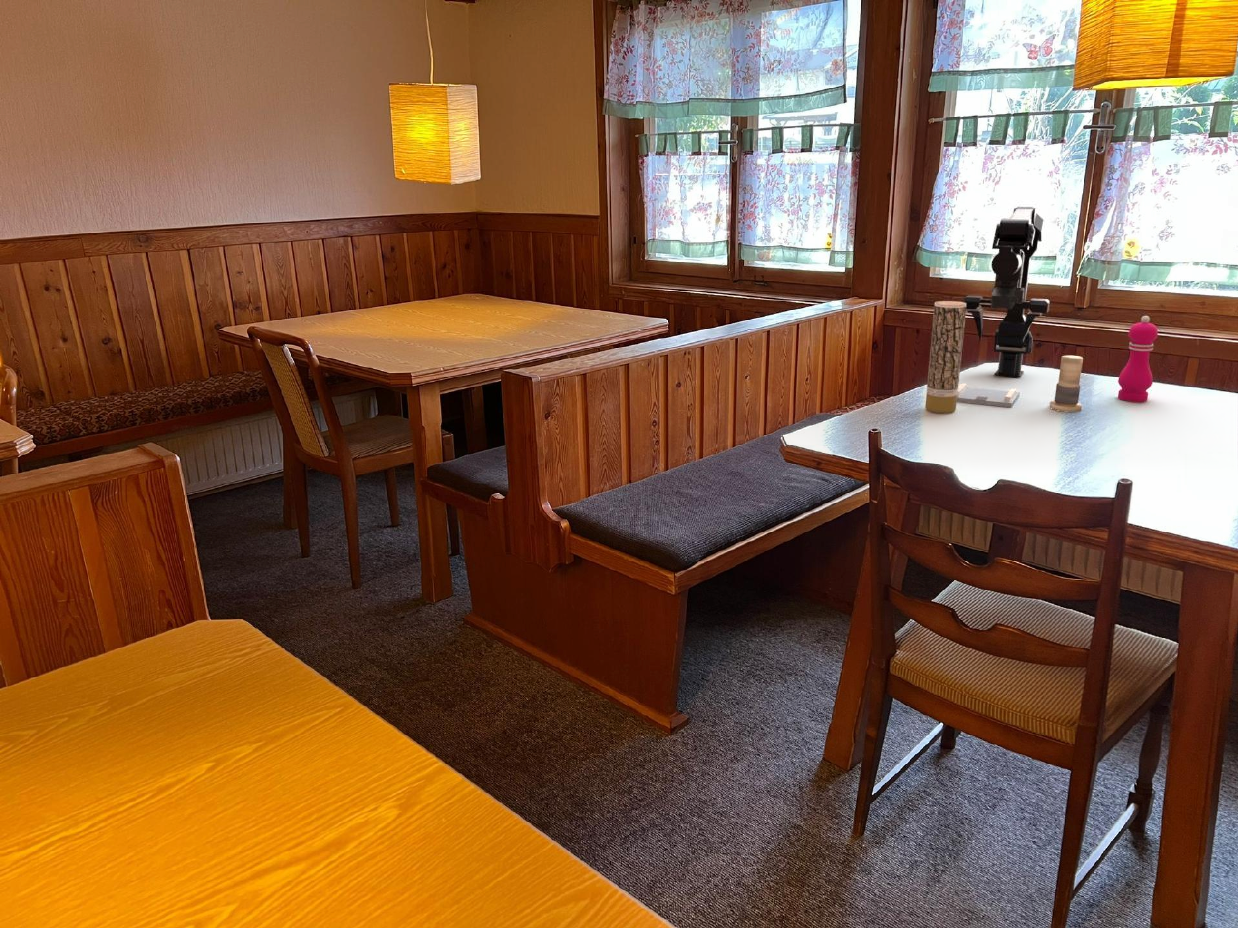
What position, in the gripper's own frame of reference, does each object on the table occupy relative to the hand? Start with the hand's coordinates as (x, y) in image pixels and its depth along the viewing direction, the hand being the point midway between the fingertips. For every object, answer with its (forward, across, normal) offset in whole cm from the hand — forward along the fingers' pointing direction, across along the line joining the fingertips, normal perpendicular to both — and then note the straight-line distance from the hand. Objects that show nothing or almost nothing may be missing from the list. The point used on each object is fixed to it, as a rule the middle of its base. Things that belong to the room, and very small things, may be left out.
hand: (1000, 340), depth 217 cm
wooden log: (+15, -10, -16) cm, 24 cm away
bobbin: (+14, +16, -2) cm, 22 cm away
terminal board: (+14, -2, 0) cm, 14 cm away
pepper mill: (+14, +30, +14) cm, 35 cm away
